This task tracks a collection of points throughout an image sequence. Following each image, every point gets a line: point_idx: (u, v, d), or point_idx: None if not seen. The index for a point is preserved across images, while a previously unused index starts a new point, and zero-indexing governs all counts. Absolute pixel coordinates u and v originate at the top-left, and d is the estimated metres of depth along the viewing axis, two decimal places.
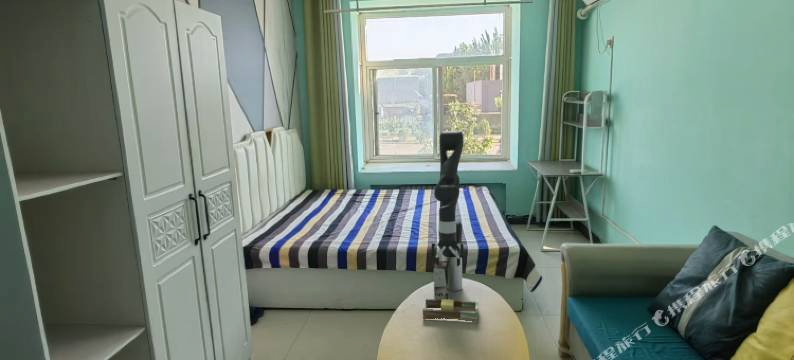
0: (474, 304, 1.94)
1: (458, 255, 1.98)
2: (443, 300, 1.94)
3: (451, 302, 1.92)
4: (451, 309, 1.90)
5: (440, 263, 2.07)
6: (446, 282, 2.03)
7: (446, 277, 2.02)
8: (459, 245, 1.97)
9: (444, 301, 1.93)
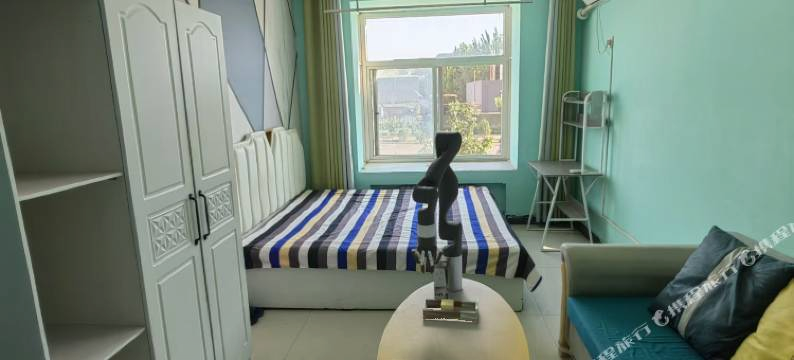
0: (474, 304, 1.94)
1: (433, 262, 1.88)
2: (443, 300, 1.94)
3: (451, 302, 1.92)
4: (451, 309, 1.90)
5: (440, 263, 2.07)
6: (446, 282, 2.03)
7: (446, 277, 2.02)
8: (438, 251, 1.87)
9: (444, 301, 1.93)
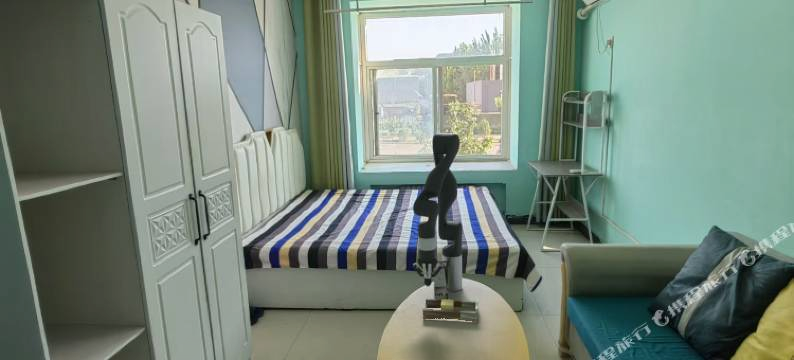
0: (474, 304, 1.94)
1: (430, 275, 1.90)
2: (443, 300, 1.94)
3: (451, 302, 1.92)
4: (451, 309, 1.90)
5: (440, 263, 2.07)
6: (446, 282, 2.03)
7: (446, 277, 2.02)
8: (438, 265, 1.89)
9: (444, 301, 1.93)
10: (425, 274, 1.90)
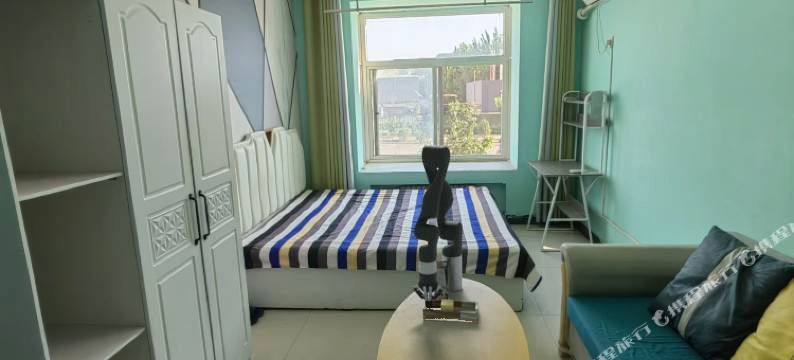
0: (474, 304, 1.94)
1: (431, 298, 1.92)
2: (443, 300, 1.94)
3: (451, 302, 1.92)
4: (451, 309, 1.90)
5: (440, 263, 2.07)
6: (446, 282, 2.03)
7: (446, 277, 2.02)
8: (438, 288, 1.91)
9: (444, 301, 1.93)
10: (426, 297, 1.92)
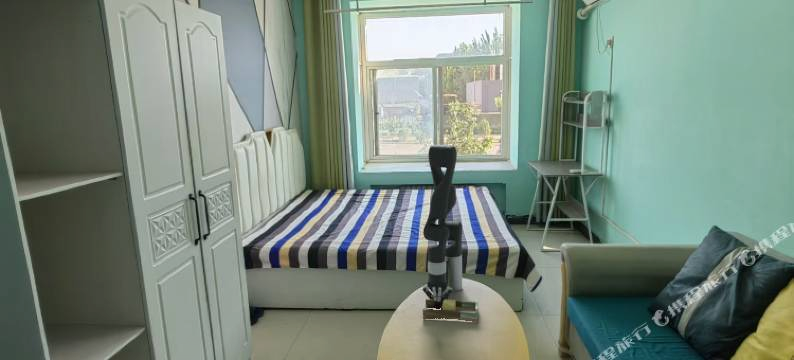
0: (474, 304, 1.94)
1: (440, 298, 1.91)
2: (445, 301, 1.93)
3: (453, 302, 1.92)
4: (453, 309, 1.90)
5: None
6: None
7: (446, 277, 2.02)
8: (448, 289, 1.90)
9: (446, 301, 1.93)
10: (435, 297, 1.91)
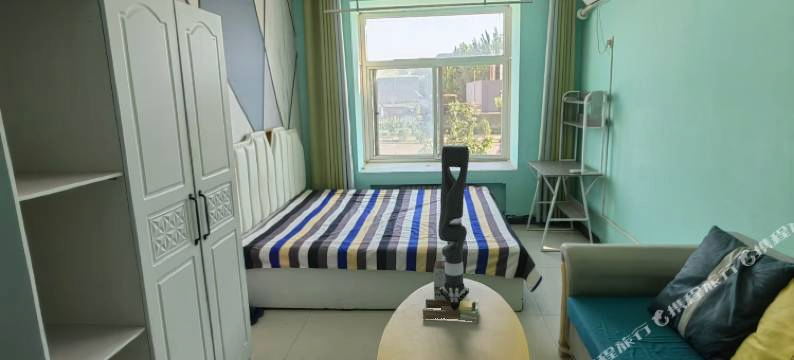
0: (474, 304, 1.94)
1: (457, 299, 1.90)
2: (461, 302, 1.92)
3: (470, 304, 1.90)
4: (470, 311, 1.88)
5: (440, 263, 2.07)
6: None
7: None
8: (465, 290, 1.89)
9: (463, 302, 1.91)
10: (452, 298, 1.90)
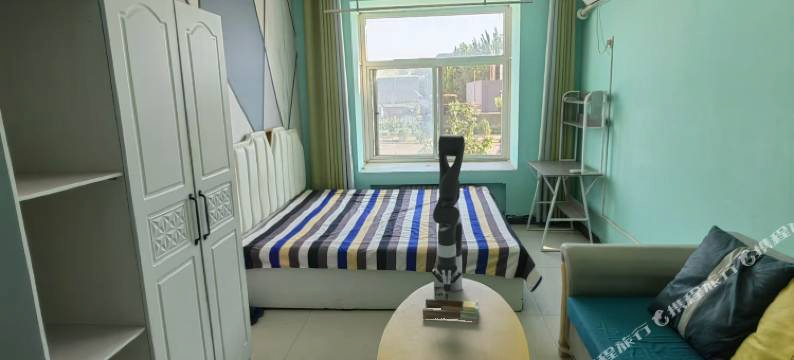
0: None
1: (450, 281, 1.89)
2: (465, 302, 1.91)
3: (473, 304, 1.90)
4: (473, 311, 1.88)
5: None
6: None
7: None
8: (458, 271, 1.88)
9: (466, 303, 1.91)
10: (444, 280, 1.89)
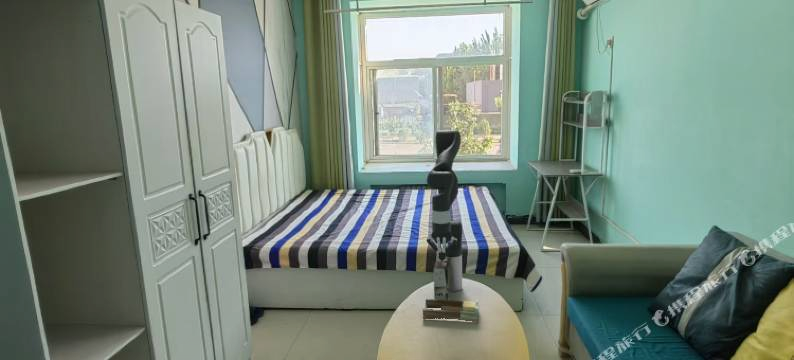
0: None
1: (445, 249, 1.86)
2: (465, 302, 1.91)
3: (473, 304, 1.90)
4: (473, 311, 1.88)
5: (440, 263, 2.07)
6: (446, 282, 2.03)
7: (446, 277, 2.02)
8: (452, 239, 1.85)
9: (466, 303, 1.91)
10: (439, 248, 1.86)
